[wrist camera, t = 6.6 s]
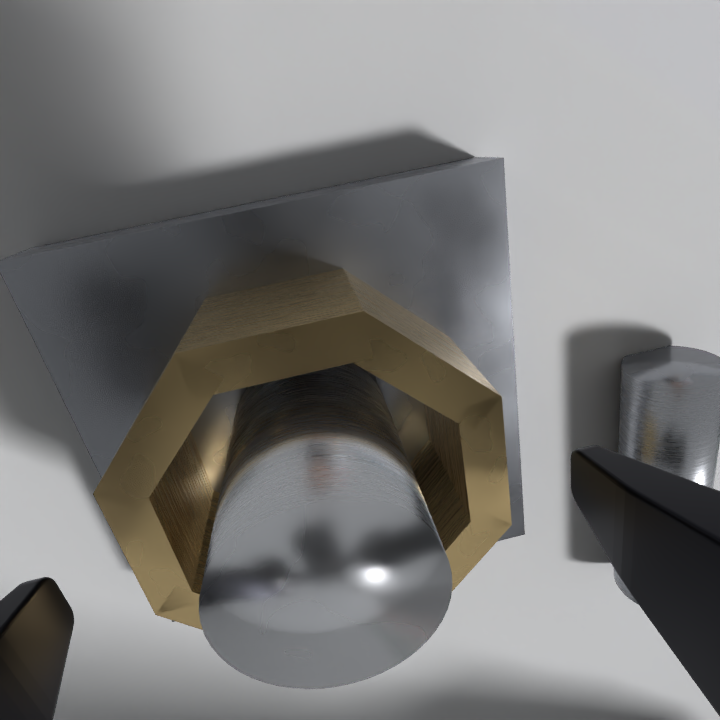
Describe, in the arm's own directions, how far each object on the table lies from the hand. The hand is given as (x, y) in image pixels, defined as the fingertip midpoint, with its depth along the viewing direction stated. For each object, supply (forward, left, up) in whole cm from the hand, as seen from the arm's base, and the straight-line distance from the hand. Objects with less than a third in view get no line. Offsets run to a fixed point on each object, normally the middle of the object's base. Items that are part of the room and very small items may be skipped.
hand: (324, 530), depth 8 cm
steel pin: (-5, -8, -3) cm, 10 cm away
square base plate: (0, 0, -5) cm, 5 cm away
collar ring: (0, 0, -4) cm, 4 cm away
